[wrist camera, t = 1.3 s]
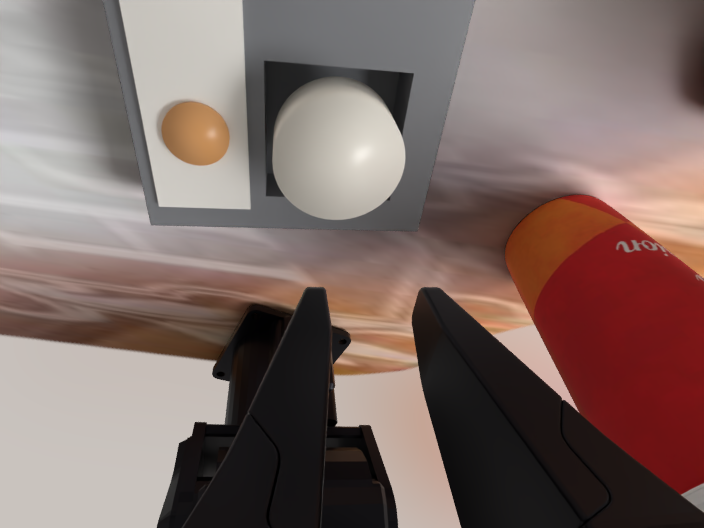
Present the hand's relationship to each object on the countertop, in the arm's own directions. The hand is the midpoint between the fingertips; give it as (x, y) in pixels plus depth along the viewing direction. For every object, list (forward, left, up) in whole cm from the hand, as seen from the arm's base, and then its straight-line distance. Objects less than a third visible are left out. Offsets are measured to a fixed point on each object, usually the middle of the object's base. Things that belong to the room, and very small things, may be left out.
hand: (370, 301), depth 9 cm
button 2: (0, 0, -9) cm, 9 cm away
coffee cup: (0, -14, -11) cm, 18 cm away
